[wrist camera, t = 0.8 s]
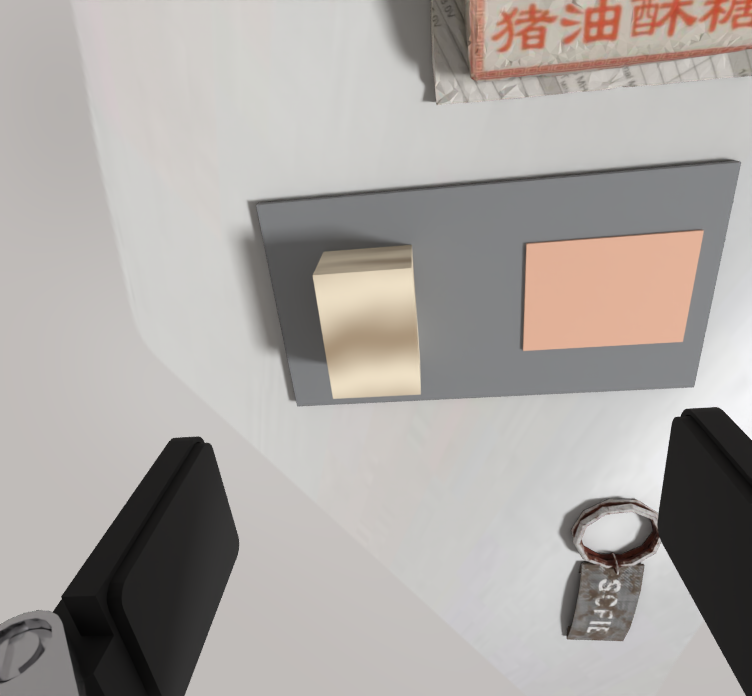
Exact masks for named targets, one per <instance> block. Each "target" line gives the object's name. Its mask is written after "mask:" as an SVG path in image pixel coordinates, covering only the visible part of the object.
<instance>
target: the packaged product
mask: <svg viewBox="0 0 752 696" xmlns="http://www.w3.org/2000/svg"><path fill="white" fill-rule="evenodd" d="M431 37H432V65H433V74H434V83H435V93H436V104H437V105H442V104H455V103H469V102H481V101H493V100H504V99H515V98H525V97H534V96H544V95H554V94H563V93H573V92H588V91H597V90H607V89H612V88H617V87H621V86H622V87H634V86H644V85H662V84H671V83H680V82H689V81H699V80H710V79H719V78H731V77H744V76H752V0H431Z"/></svg>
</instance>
